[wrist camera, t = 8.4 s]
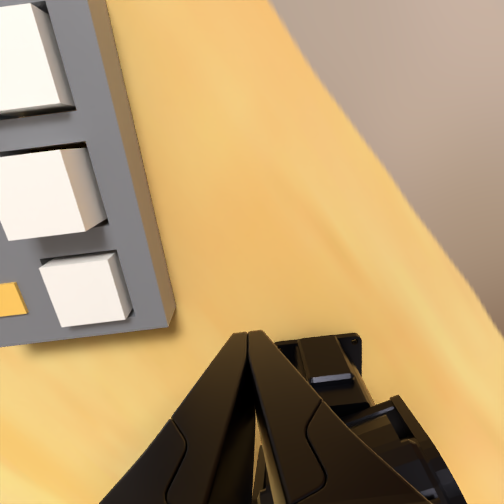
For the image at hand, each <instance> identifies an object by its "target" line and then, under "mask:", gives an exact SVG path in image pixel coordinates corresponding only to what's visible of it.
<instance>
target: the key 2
mask: <svg viewBox="0 0 504 504" xmlns="http://www.w3.org/2000/svg"><path fill="white" fill-rule="evenodd" d="M39 270H40V273H41V275H42V278H43V280H44V283H45V286H46V288H47V291H48V293H49V296H50V299H51V301H52V304H53V306H54V309H55V312H56V314H57V317H58V319H59V322H60V324H61V327H68V326H76V325H85V324H93V323H101V322H110V321H118V320H126V318H127V316H128V315H129V313H130V312H131V310H132V308H133V305H132V302H131V298H130V295H129V291H128V288H127V284H126V281H125V278H124V274H123V271H122V267H121V264H120V260H119V257H118V253H117V250H108V251H100V252H92V253H84V254H76V255H68V256H59V257H55V258H54V259H52V260H51V261H49V262H48V263H46V264H45V265H43V266H41V267H40V268H39Z"/></svg>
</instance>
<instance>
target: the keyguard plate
mask: <svg viewBox="0 0 504 504" xmlns="http://www.w3.org/2000/svg"><path fill="white" fill-rule="evenodd" d="M27 3H31V4H32V5H34V6H36V7H37V8H39V9H40V10H42V11H44V12H45V13H47V14H48V15H50V19H51V22H52V26H53V29H54V33H55V36H56V40H57V43H58V47H59V50H60V54H61V57H62V61H63V64H64V68H65V71H66V75H67V78H68V82H69V85H70V89H71V92H72V96H73V99H74V103H75V106H76V110H77V111H69V112H61V113H53V114H45V115H38V116H30V117H22V118H19V117H14V116H3V115H0V157H6V156H14V155H22V154H29V153H31V151H30V150H33V149H41V148H49V147H57V146H65V145H73V144H81V143H86V145H87V148H88V152H89V155H90V159H91V162H92V166H93V169H94V173H95V176H96V180H97V183H98V187H99V190H100V194H101V197H102V201H103V204H104V208H105V211H106V215H107V219H105V220H103V221H102V222H100V223H99V224H97V225H95V226H94V227H92V228H90V229H89V230H87V231H85V232H77V233H69V234H61V235H53V236H45V237H37V238H29V239H21V240H12V241H8V238H7V236H6V234H5V231H4V229H3V226H2V224H1V221H0V347H6V346H14V345H23V344H31V343H39V342H48V341H56V340H64V339H73V338H81V337H90V336H98V335H106V334H115V333H123V332H131V331H140V330H148V329H156V328H165V327H169V324H170V321H171V319H172V316H173V313H174V311H175V308H176V304H175V300H174V295H173V291H172V287H171V282H170V278H169V274H168V269H167V265H166V261H165V256H164V252H163V248H162V243H161V239H160V235H159V230H158V226H157V222H156V217H155V213H154V209H153V204H152V200H151V196H150V192H149V187H148V183H147V179H146V174H145V170H144V166H143V161H142V157H141V153H140V148H139V144H138V140H137V135H136V131H135V127H134V122H133V118H132V114H131V109H130V105H129V101H128V96H127V92H126V88H125V83H124V79H123V75H122V71H121V66H120V62H119V58H118V53H117V49H116V45H115V40H114V36H113V32H112V27H111V23H110V19H109V14H108V10H107V6H106V1H105V0H0V7H4V6H12V5H19V4H27ZM108 250H117V253H118V257H119V260H120V264H121V267H122V271H123V274H124V278H125V281H126V284H127V288H128V291H129V295H130V298H131V302H132V305H133V308H132V310H131V312H130V313H129V315H128V316H127V318H126V320H118V321H110V322H101V323H93V324H85V325H76V326H68V327H61V324H60V322H59V319H58V317H57V314H56V312H55V309H54V306H53V304H52V301H51V299H50V296H49V293H48V291H47V288H46V286H45V283H44V280H43V278H42V275H41V273H40V270H39V268H40V267H41V266H43V265H45V264H46V263H48V262H49V261H51V260H52V259H54V258H55V257H59V256H68V255H76V254H84V253H92V252H100V251H108Z"/></svg>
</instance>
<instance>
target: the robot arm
mask: <svg viewBox="0 0 504 504" xmlns="http://www.w3.org/2000/svg"><path fill="white" fill-rule="evenodd" d="M353 339H356V340H355V341H353V342H352V340H353ZM278 348H281V350H279V349H278ZM255 410H256V414H255ZM256 416H257V422H258V427H259V432H260V437H261V442H262V445H261V446H260V448H259V455H258V461H257V468H256V475H255V482H254V489H253V496H252V487H253V465H254V444H255V419H256ZM99 504H467V503H466V501H465V499H464V497H463V495H462V493H461V491H460V489H459V487H458V485H457V483H456V481H455V479H454V478H453V476H452V474H451V472H450V470H449V469H448V467H447V465H446V464H445V462H444V460H443V458H442V457H441V455H440V453H439V452H438V450H437V449H436V447H435V445H434V444H433V442H432V441H431V439H430V438H429V437H428V435H427V434H426V432H425V431H424V430H423V428H422V427H421V425H420V424H419V423H418V421H417V420H416V418H415V417H414V416H413V414H412V413H411V411H410V410H409V409H408V407H407V406H406V404H405V403H404V402H403V400H402V399H401V397H400V396H399V395H396V396H393V397H391V398H390V400H388V401H385V402H383V403H380V404H377V405H375V403H374V401H373V399H372V397H371V395H370V393H369V391H368V389H367V387H366V385H365V383H364V381H363V379H362V340H361V338H360V336H359V335H358V334H357V333H348V334H339V335H328V336H320V337H311V338H303V339H297V340H289V341H280V342H275V343H273V342H272V341H271V339H270V338H269V337H268V336H267V335H266V334H265V333H264V332H263V331H262V330H257V331H250V332H248V334H247V332H240V333H233V334H232V335H231V337H230V338H229V339H228V341H227V342H226V343H225V345H224V346H223V347H222V349H221V350H220V352H219V353H218V354H217V356H216V357H215V358H214V360H213V361H212V362H211V364H210V365H209V366H208V368H207V369H206V370H205V372H204V373H203V375H202V376H201V377H200V379H199V380H198V381H197V383H196V384H195V385H194V387H193V388H192V389H191V391H190V392H189V394H188V395H187V396H186V398H185V399H184V400H183V402H182V403H181V404H180V406H179V407H178V408H177V410H176V411H175V412H174V414H173V415H172V417H171V419H169V420H168V422H167V423H166V424H165V426H164V427H163V429H162V430H161V431H160V433H159V434H158V435H157V436H156V438H155V439H154V440H153V442H152V443H151V444H150V445H149V447H148V448H147V449H146V450H145V452H144V453H143V454H142V455H141V456H140V457H139V459H138V460H137V461H136V462H135V463H134V464H133V466H132V467H131V468H130V469H129V470H128V471H127V473H126V474H125V475H124V476H123V477H122V478H121V479H120V480H119V482H118V483H117V484H116V485H115V486H114V487H113V488H112V489H111V491H110V492H109V493H108V494H107V495H106V496H105V497H104V498H103V499H102V501H101V502H100V503H99Z"/></svg>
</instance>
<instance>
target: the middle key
mask: <svg viewBox="0 0 504 504" xmlns="http://www.w3.org/2000/svg"><path fill="white" fill-rule="evenodd" d="M105 219H107V215H106V211H105V208H104V204H103V201H102V197H101V194H100V190H99V187H98V183H97V180H96V176H95V173H94V169H93V166H92V162H91V159H90V155H89V152H88V148H75V149H62V150H53V151H45V152H37V153H29V154H22V155H14V156H6V157H0V221H1V224H2V226H3V229H4V231H5V234H6V236H7V238H8V241H12V240H21V239H29V238H37V237H45V236H53V235H61V234H69V233H77V232H85V231H87V230H89V229H90V228H92V227H94V226H95V225H97V224H99V223H100V222H102V221H103V220H105Z"/></svg>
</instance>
